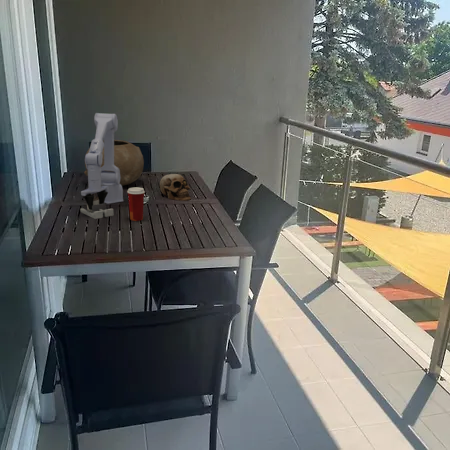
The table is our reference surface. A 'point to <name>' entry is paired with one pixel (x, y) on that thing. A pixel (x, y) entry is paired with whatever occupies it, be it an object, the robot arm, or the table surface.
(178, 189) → the tan skull
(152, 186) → the table surface
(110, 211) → the lane
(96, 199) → the jar
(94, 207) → the pusher
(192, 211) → the table surface
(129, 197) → the paper cup
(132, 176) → the ceramic pot
